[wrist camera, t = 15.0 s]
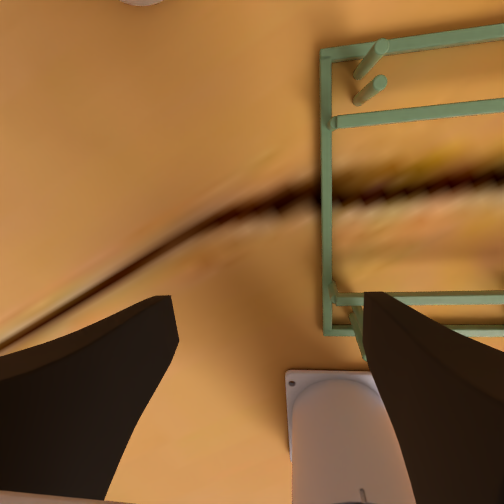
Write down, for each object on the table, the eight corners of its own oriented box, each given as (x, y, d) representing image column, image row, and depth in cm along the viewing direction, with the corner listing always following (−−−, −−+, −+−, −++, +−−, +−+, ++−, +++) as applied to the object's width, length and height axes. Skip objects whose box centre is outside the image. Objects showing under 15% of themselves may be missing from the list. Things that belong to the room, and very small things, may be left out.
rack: (544, 332, 19) (615, 382, 15) (322, 331, 21) (330, 375, 17) (627, 9, 14) (774, -55, 10) (319, 52, 16) (328, 15, 12)
